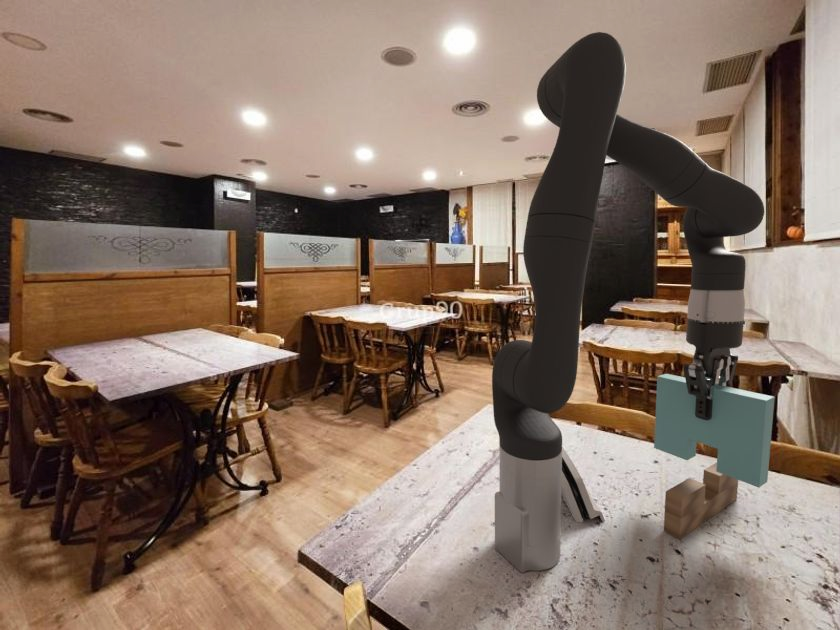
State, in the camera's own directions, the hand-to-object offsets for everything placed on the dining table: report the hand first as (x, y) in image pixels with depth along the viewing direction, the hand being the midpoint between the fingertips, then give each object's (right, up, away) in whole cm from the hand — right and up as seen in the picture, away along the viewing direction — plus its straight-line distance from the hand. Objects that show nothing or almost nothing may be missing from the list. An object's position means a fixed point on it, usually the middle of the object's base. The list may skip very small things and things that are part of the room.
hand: (708, 415), depth 67 cm
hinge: (-21, -18, +9) cm, 29 cm away
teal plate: (0, -9, +1) cm, 9 cm away
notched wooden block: (+1, -18, +2) cm, 18 cm away
